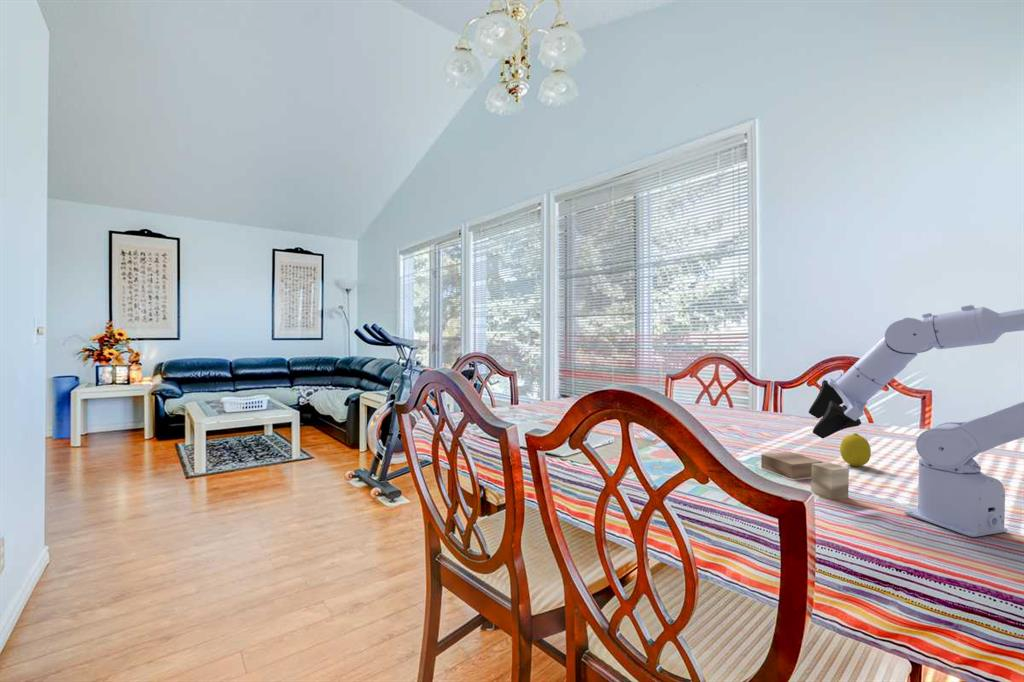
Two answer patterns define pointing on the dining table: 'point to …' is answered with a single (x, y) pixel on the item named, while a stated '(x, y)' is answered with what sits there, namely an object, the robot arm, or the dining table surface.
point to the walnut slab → (788, 464)
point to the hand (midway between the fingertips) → (815, 424)
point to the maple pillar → (830, 480)
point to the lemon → (855, 450)
